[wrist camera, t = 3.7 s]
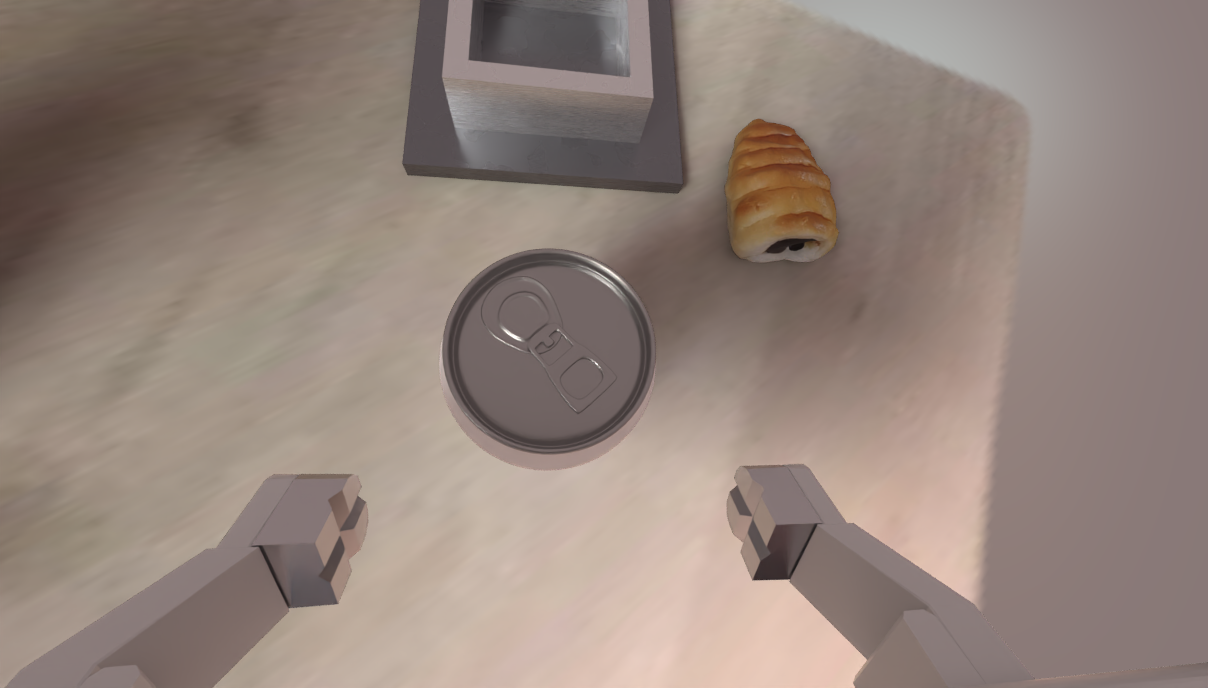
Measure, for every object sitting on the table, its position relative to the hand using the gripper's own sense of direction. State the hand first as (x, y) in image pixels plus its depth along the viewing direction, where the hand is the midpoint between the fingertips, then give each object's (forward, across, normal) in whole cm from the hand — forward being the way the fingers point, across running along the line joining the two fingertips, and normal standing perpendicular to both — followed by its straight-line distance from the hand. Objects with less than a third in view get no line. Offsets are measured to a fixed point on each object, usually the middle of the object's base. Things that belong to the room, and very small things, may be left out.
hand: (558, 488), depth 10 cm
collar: (+27, 0, -8) cm, 28 cm away
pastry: (+21, -14, -2) cm, 25 cm away
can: (+12, 0, +7) cm, 14 cm away
